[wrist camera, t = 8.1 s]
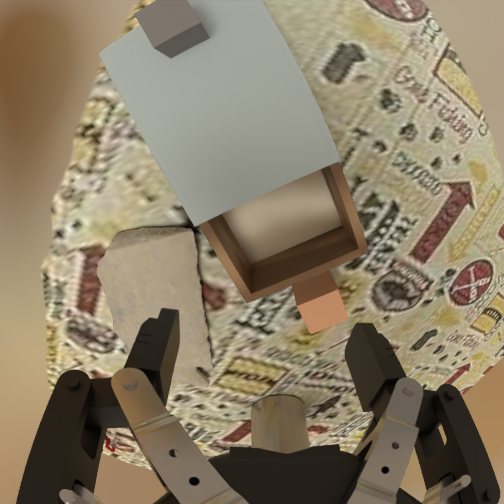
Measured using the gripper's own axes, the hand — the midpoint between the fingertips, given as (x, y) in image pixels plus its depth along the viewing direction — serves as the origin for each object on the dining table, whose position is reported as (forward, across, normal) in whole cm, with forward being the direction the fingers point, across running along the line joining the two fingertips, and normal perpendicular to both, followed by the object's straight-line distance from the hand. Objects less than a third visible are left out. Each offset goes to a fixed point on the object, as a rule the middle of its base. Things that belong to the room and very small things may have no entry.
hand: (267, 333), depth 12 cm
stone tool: (+19, +10, +15) cm, 26 cm away
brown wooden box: (+18, -1, -3) cm, 18 cm away
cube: (+18, -8, +9) cm, 22 cm away
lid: (+11, +4, -10) cm, 16 cm away
